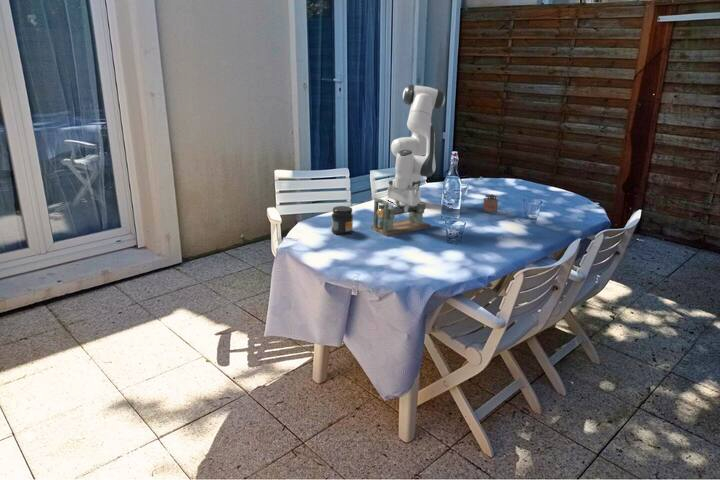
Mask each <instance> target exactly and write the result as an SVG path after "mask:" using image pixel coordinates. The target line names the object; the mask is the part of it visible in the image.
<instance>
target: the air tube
mask: <svg viewBox="0 0 720 480" xmlns="http://www.w3.org/2000/svg"><path fill="white" fill-rule="evenodd" d="M420 203H424V204H425V208H424V211H425V210H426V203H425V202H423V201H421V202H420ZM417 206H418V204H417ZM417 206H409V208H408V212H404V211H403V208H405V205H403V206H391V207H388V209H389V208H394V209H395V216H396V215H403V214H409V212H414V211H417ZM377 216H378V219H380V218H382V217H384V209H379V208H378V210H377Z"/></svg>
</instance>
